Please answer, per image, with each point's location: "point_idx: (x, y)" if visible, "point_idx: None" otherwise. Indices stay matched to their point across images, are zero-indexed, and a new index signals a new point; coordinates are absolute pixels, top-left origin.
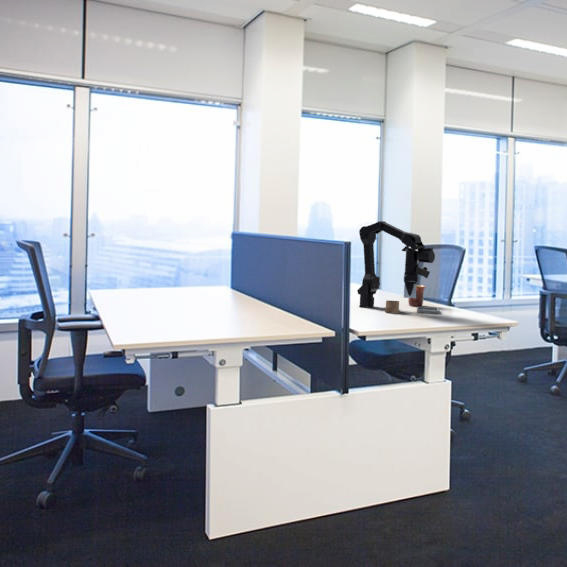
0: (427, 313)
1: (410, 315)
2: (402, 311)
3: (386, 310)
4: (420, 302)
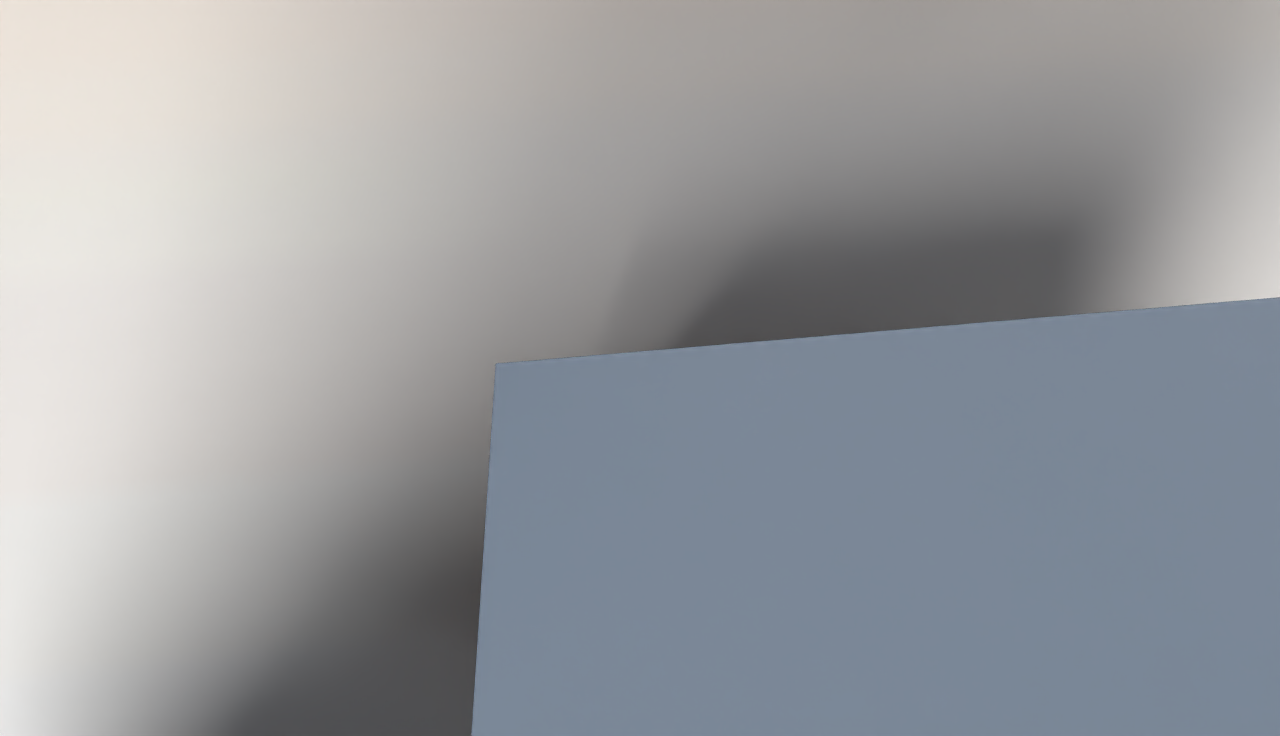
0: None
1: (1220, 93)
2: (460, 389)
3: None
4: None
